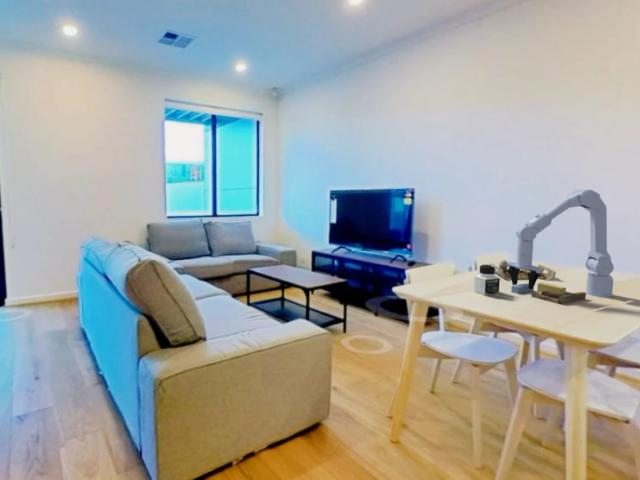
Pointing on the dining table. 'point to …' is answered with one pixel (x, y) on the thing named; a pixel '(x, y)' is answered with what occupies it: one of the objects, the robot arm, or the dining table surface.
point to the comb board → (560, 297)
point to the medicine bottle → (486, 281)
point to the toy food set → (522, 272)
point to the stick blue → (521, 288)
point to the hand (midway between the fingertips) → (522, 286)
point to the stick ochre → (551, 288)
